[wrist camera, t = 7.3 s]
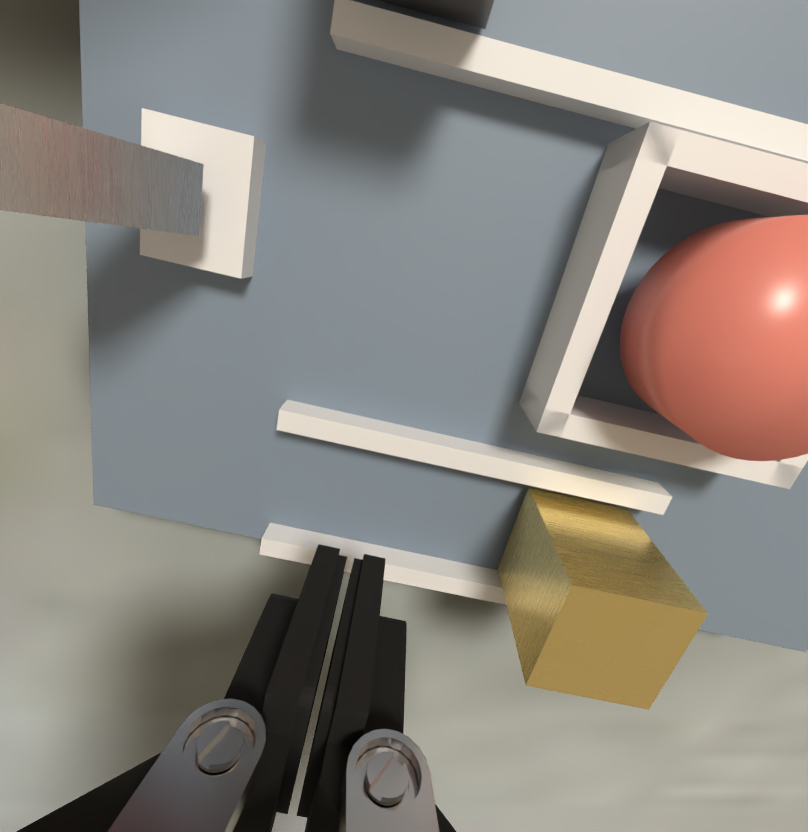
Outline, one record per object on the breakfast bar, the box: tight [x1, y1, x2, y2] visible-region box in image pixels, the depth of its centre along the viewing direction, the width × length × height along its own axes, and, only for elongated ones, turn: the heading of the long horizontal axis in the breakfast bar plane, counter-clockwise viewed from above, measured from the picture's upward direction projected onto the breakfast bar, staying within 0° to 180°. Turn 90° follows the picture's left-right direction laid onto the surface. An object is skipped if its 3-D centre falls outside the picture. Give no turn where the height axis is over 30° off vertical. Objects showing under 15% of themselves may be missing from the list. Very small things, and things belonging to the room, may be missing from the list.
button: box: [620, 215, 808, 461], centre depth 9 cm, size 4×4×2 cm
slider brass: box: [498, 487, 708, 709], centre depth 12 cm, size 3×3×4 cm
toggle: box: [0, 103, 204, 236], centre depth 8 cm, size 1×1×5 cm
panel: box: [79, 0, 808, 652], centre depth 12 cm, size 18×24×4 cm
